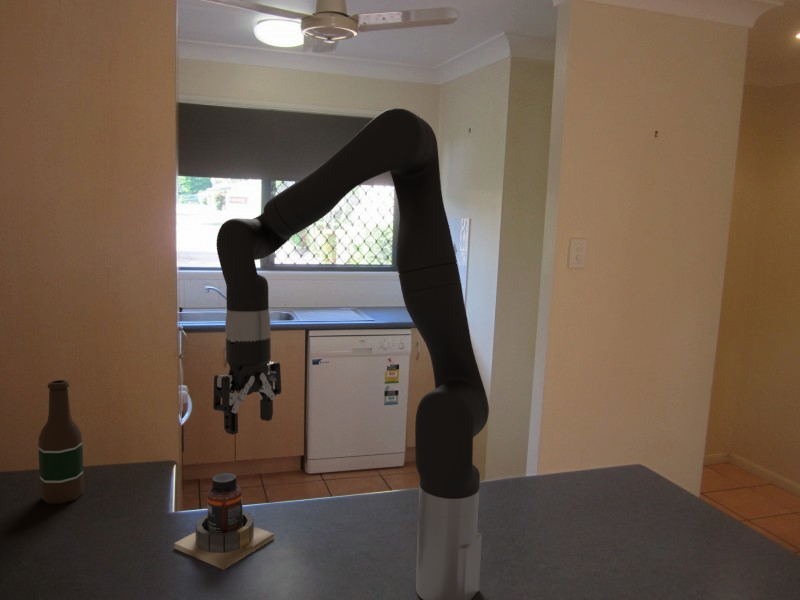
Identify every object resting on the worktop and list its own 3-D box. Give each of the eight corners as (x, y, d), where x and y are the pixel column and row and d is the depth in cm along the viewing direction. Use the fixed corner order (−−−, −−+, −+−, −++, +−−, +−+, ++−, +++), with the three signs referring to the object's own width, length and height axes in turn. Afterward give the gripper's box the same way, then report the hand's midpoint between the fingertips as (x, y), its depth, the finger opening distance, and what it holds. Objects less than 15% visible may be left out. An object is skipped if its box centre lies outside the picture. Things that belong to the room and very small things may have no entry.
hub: (273, 538, 111) (273, 517, 110) (223, 569, 100) (223, 546, 100) (226, 521, 117) (226, 501, 116) (174, 548, 106) (173, 526, 106)
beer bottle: (42, 491, 127) (37, 378, 124) (84, 485, 130) (81, 375, 127) (38, 507, 120) (33, 388, 117) (83, 501, 123) (79, 384, 120)
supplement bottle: (248, 532, 111) (248, 472, 109) (232, 549, 105) (232, 486, 103) (218, 528, 112) (217, 468, 110) (201, 544, 106) (200, 482, 105)
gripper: (260, 328, 113) (261, 413, 115) (200, 339, 101) (203, 434, 103) (291, 331, 110) (292, 419, 112) (234, 343, 97) (235, 442, 99)
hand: (249, 426), depth 107 cm, fingers open, 8 cm apart
